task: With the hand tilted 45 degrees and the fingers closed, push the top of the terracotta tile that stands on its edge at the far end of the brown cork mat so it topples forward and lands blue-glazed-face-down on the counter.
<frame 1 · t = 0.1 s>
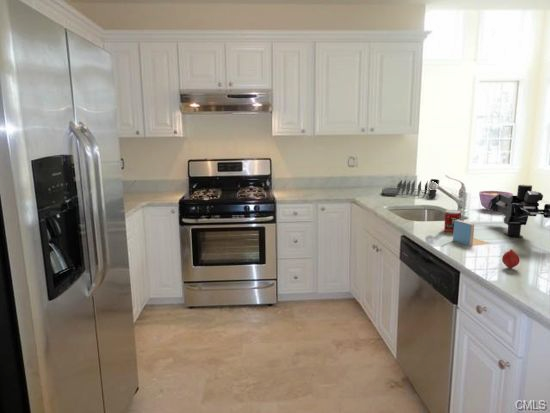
hand: (541, 214, 171), 17 cm above the countertop, tool horizontal, fingers open, 9 cm apart
onion: (509, 269, 153), on the countertop
bowl of food: (494, 210, 261), on the countertop
dish rack: (409, 195, 327), on the countertop
tile: (462, 242, 187), resting on mat
mat: (470, 242, 189), on the countertop
canned food: (451, 231, 209), on the countertop
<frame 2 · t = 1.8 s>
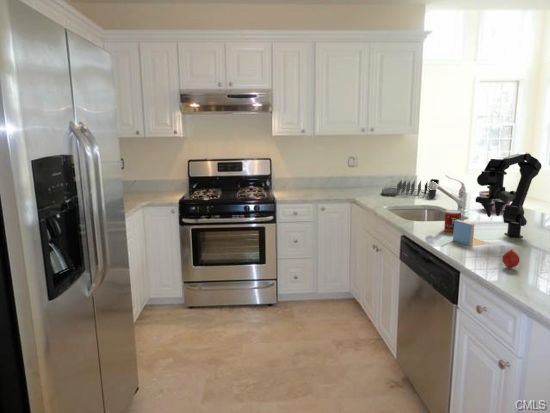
hand: (493, 216, 189), 12 cm above the countertop, tool pointing down, fingers open, 5 cm apart
nothing on the countertop moved.
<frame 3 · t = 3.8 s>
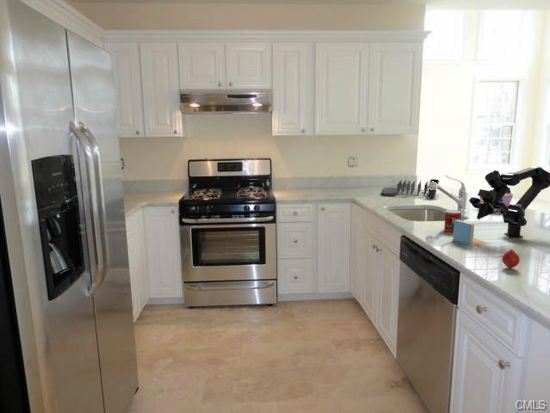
hand: (477, 218, 187), 11 cm above the countertop, tool tilted 45°, fingers closed
nothing on the countertop moved.
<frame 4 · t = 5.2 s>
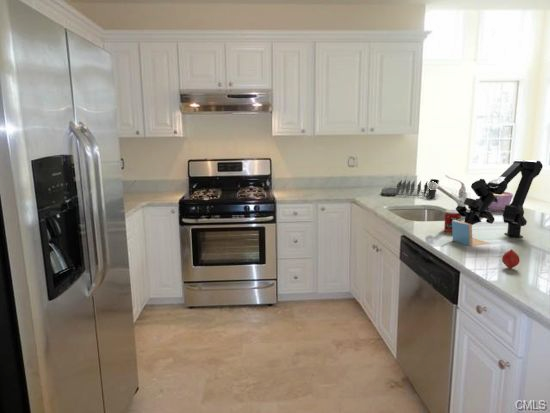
hand: (463, 227, 185), 8 cm above the countertop, tool tilted 45°, fingers closed
tile: (462, 242, 187), point 1 cm above the countertop, tilted 9°, touching mat
everything else where it was.
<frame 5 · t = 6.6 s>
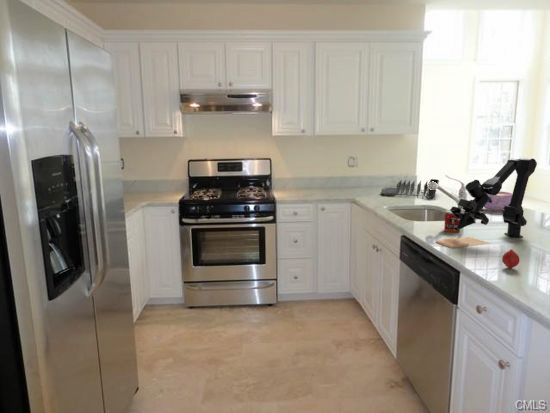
hand: (458, 228, 184), 8 cm above the countertop, tool tilted 45°, fingers closed
tile: (460, 242, 186), resting on mat, tilted 90°
everything else where it was.
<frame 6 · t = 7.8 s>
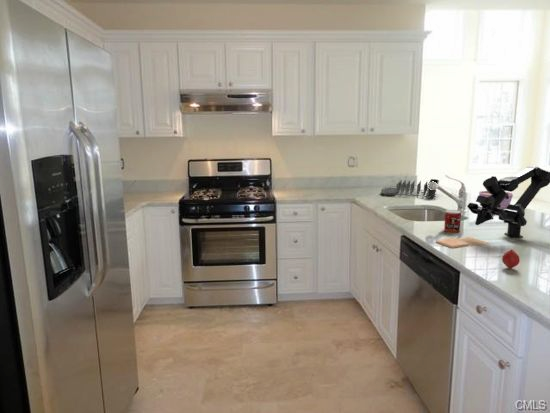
hand: (476, 224, 188), 8 cm above the countertop, tool tilted 45°, fingers closed
nothing on the countertop moved.
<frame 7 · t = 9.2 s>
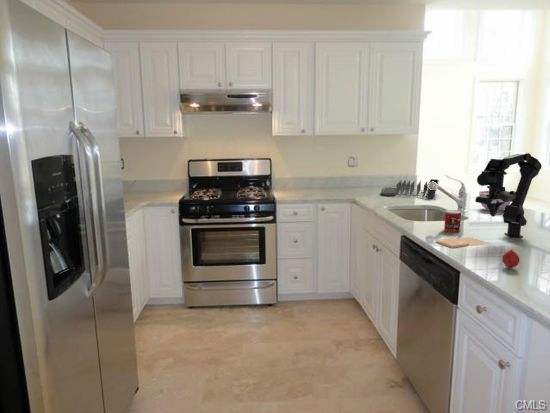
hand: (493, 216, 189), 12 cm above the countertop, tool pointing down, fingers closed
nothing on the countertop moved.
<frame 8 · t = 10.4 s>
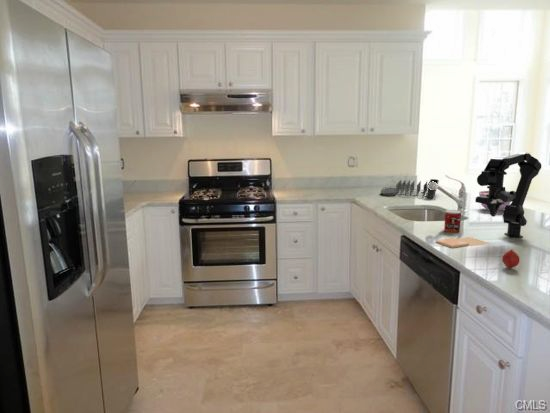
hand: (493, 216, 189), 12 cm above the countertop, tool pointing down, fingers closed
nothing on the countertop moved.
at the end: tile tilted 90°; tile inside the target area on the mat (2.0 cm from its centre), point 0.4 cm above the mat's base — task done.
